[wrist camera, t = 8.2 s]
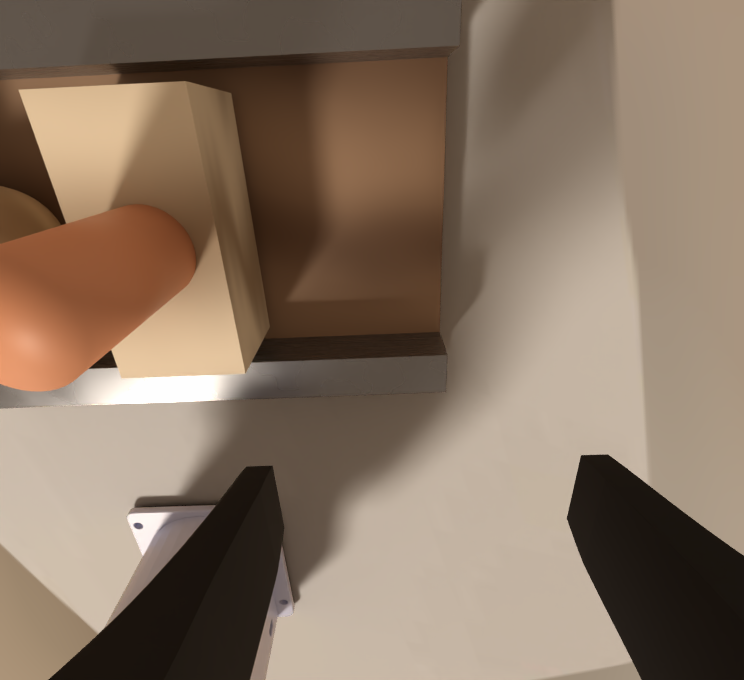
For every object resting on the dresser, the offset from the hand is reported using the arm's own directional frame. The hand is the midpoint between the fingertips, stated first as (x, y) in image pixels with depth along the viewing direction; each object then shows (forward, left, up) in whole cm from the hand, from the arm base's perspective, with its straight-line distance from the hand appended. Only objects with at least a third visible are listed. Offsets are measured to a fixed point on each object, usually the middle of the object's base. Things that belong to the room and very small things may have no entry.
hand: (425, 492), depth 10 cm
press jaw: (+5, +7, -8) cm, 12 cm away
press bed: (+5, +9, -9) cm, 14 cm away
